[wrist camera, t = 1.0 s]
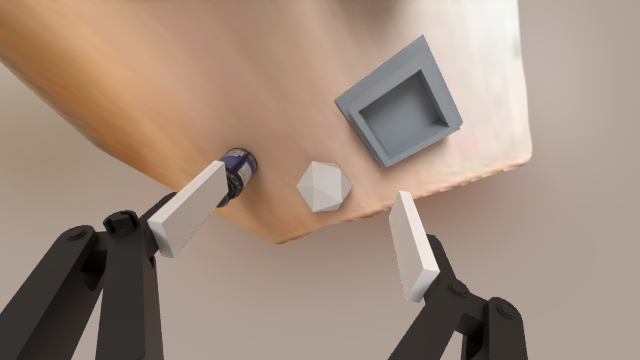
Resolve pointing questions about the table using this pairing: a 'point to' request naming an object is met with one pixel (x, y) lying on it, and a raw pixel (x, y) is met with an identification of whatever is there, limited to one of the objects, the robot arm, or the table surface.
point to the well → (401, 105)
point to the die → (324, 186)
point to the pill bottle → (237, 172)
